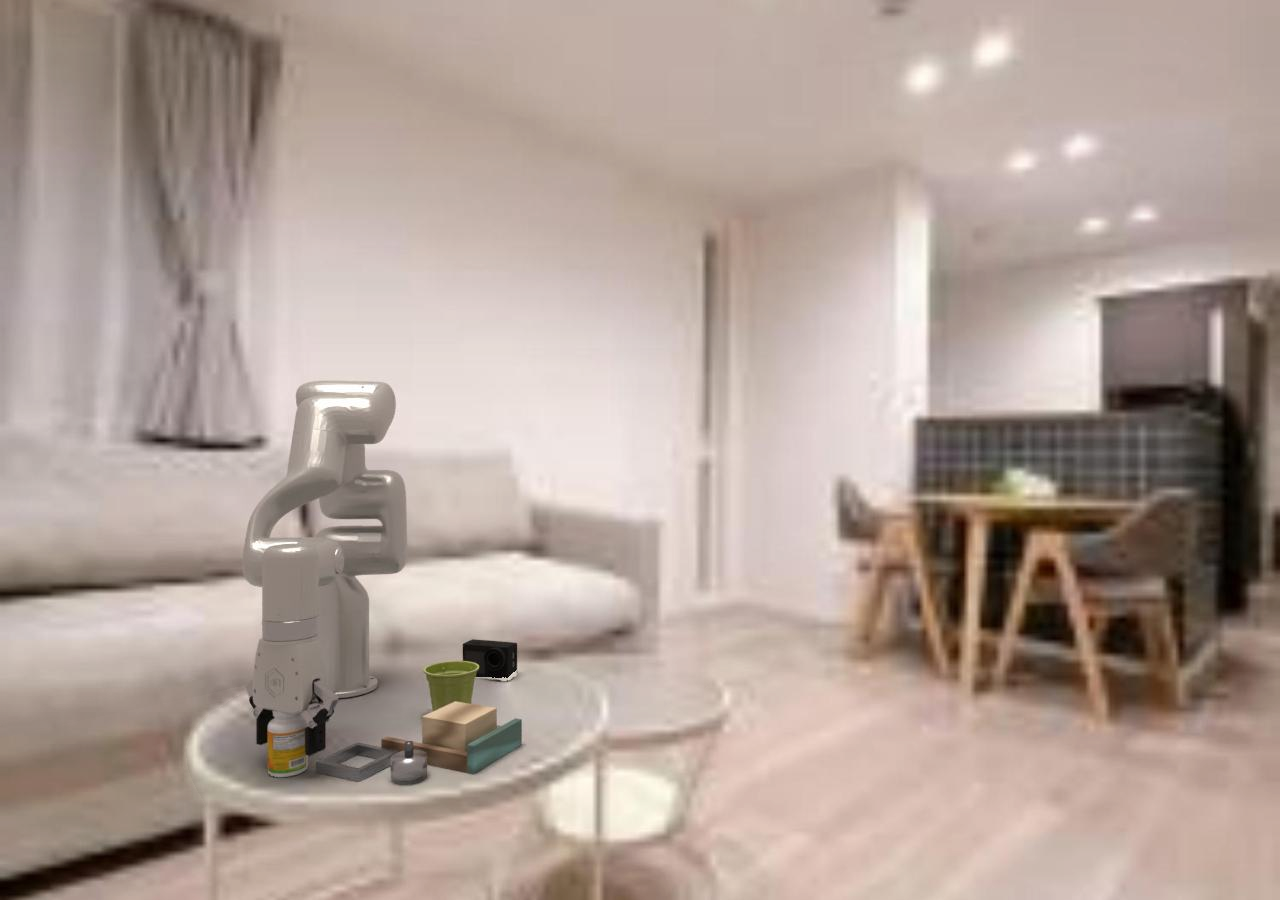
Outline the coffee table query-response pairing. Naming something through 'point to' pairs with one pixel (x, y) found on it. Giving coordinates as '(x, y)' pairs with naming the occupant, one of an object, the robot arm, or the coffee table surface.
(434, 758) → the bay
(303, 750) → the supplement bottle
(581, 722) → the coffee table surface
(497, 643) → the digital camera
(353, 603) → the robot arm
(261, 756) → the coffee table surface
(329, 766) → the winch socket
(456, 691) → the plant pot
